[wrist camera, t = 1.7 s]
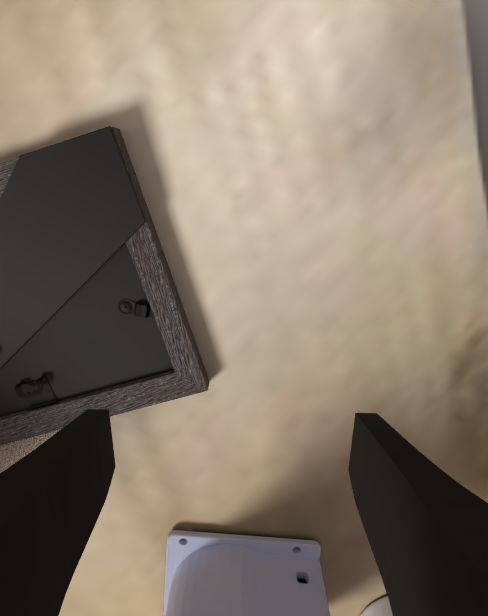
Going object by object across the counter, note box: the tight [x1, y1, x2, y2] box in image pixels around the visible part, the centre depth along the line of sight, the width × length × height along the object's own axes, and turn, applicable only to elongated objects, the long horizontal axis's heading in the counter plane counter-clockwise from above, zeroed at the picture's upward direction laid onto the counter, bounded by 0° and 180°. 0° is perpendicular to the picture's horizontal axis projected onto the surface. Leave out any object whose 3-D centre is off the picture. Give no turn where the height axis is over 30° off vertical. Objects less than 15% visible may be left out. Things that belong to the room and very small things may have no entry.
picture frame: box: [0, 126, 209, 445], centre depth 21 cm, size 13×2×18 cm
